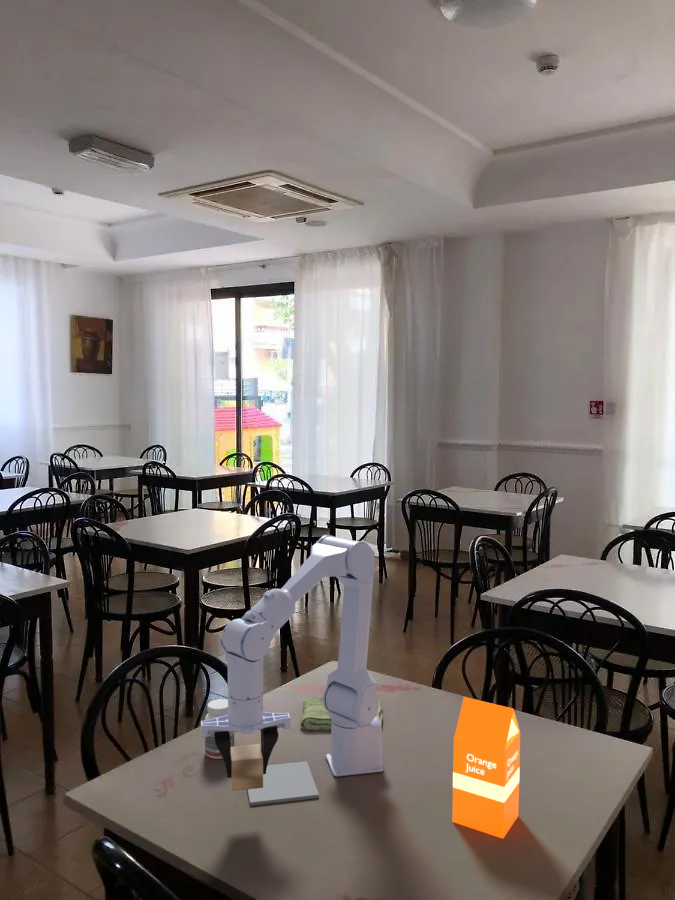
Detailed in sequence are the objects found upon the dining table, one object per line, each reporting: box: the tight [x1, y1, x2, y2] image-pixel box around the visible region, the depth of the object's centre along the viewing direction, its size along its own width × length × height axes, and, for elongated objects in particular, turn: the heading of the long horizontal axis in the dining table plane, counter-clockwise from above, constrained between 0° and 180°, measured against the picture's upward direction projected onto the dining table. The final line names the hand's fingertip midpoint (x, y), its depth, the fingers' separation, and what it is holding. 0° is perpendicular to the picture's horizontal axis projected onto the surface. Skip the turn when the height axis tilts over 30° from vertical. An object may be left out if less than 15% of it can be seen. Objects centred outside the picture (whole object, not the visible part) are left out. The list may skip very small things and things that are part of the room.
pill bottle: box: [204, 698, 235, 760], centre depth 145 cm, size 6×6×10 cm
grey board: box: [246, 761, 320, 807], centre depth 134 cm, size 12×12×1 cm
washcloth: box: [299, 696, 383, 732], centre depth 161 cm, size 13×18×3 cm
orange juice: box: [451, 696, 521, 839], centre depth 123 cm, size 8×9×20 cm
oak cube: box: [229, 743, 263, 792], centre depth 122 cm, size 5×5×5 cm
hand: (246, 773), depth 122 cm, fingers closed on oak cube, 5 cm apart
